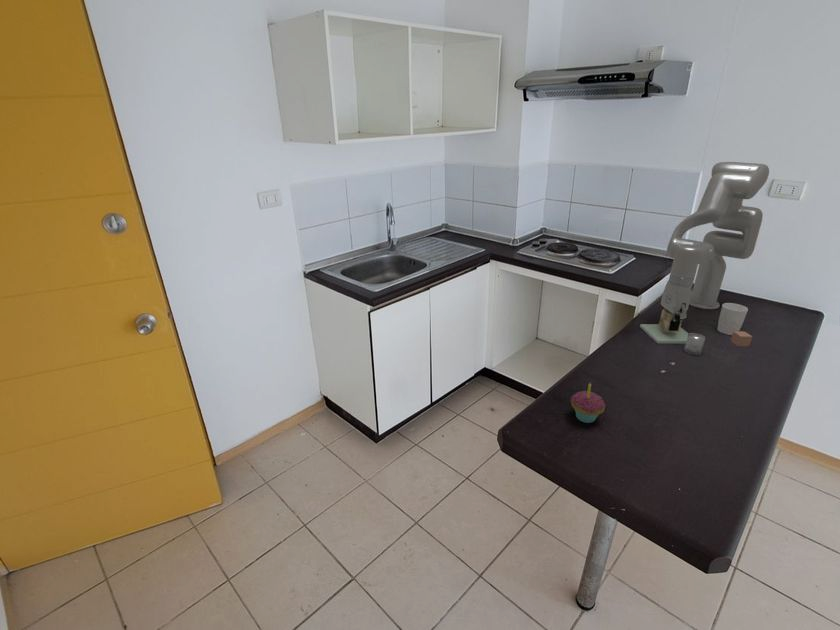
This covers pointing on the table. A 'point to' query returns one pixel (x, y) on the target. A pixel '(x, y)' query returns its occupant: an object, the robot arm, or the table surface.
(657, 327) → the sage plate
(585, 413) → the cupcake
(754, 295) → the table surface
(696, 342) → the grey metal cylinder
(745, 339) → the terracotta cube
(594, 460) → the table surface
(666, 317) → the maple block
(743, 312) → the white cup
